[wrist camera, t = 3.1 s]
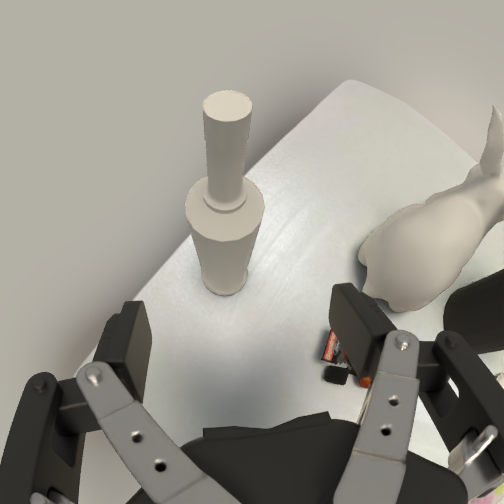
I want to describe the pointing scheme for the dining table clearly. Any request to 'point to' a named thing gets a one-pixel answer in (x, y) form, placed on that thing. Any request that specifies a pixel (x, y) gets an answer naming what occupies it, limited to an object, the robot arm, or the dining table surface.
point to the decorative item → (490, 497)
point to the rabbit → (436, 233)
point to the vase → (478, 313)
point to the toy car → (338, 373)
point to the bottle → (225, 196)
